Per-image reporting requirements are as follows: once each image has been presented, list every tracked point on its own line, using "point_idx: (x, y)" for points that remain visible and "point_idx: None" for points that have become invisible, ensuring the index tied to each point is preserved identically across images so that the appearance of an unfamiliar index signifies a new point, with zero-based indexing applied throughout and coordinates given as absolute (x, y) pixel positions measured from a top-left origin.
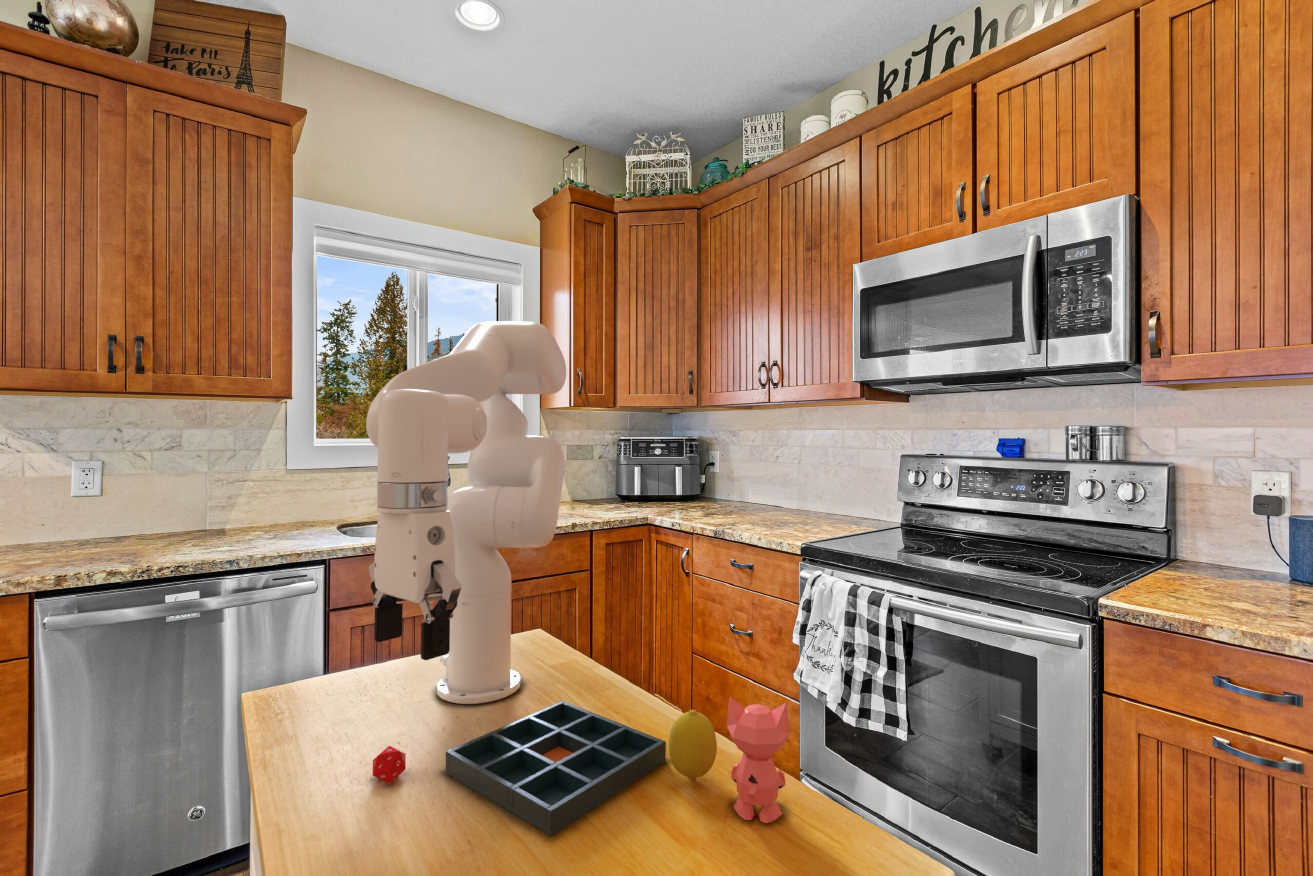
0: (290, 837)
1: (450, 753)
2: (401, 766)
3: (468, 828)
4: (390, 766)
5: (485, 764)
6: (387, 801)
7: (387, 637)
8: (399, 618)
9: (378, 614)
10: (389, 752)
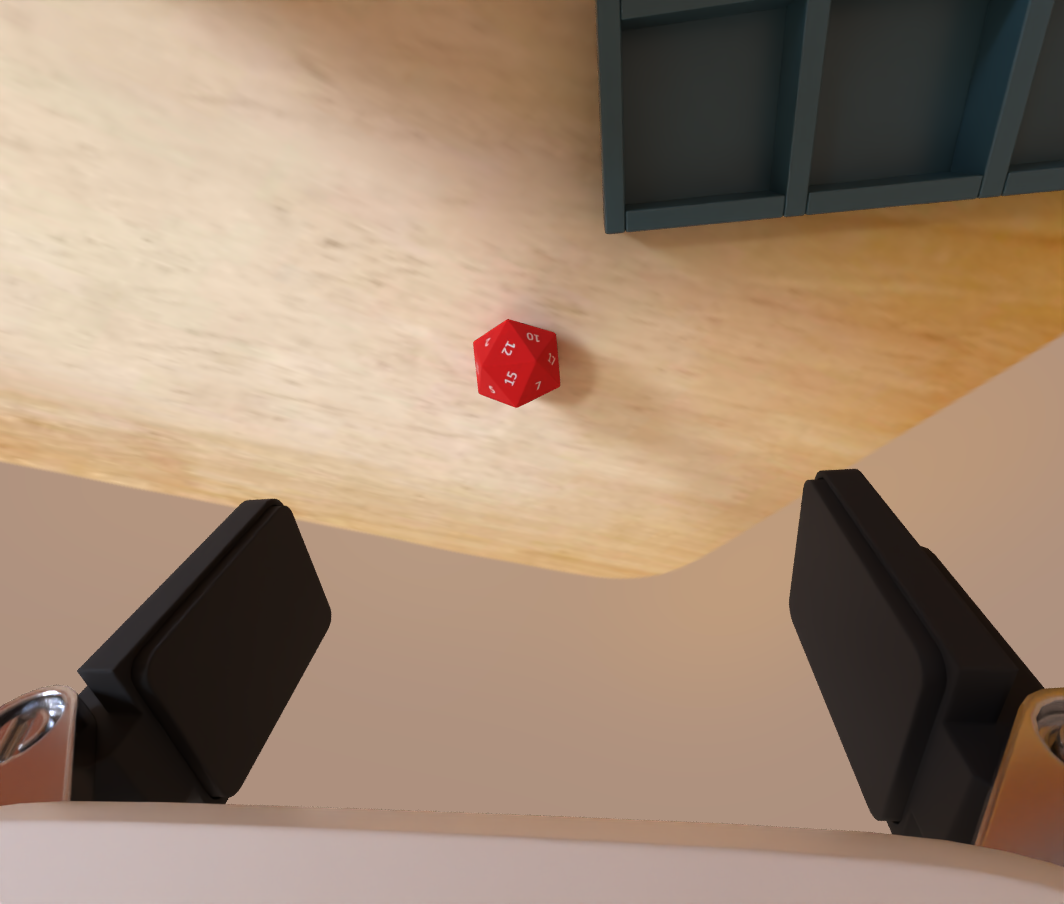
0: (593, 551)
1: (632, 229)
2: (554, 348)
3: (886, 312)
4: (556, 383)
5: (795, 177)
6: (616, 393)
7: (312, 586)
8: (225, 600)
9: (247, 769)
10: (524, 383)
